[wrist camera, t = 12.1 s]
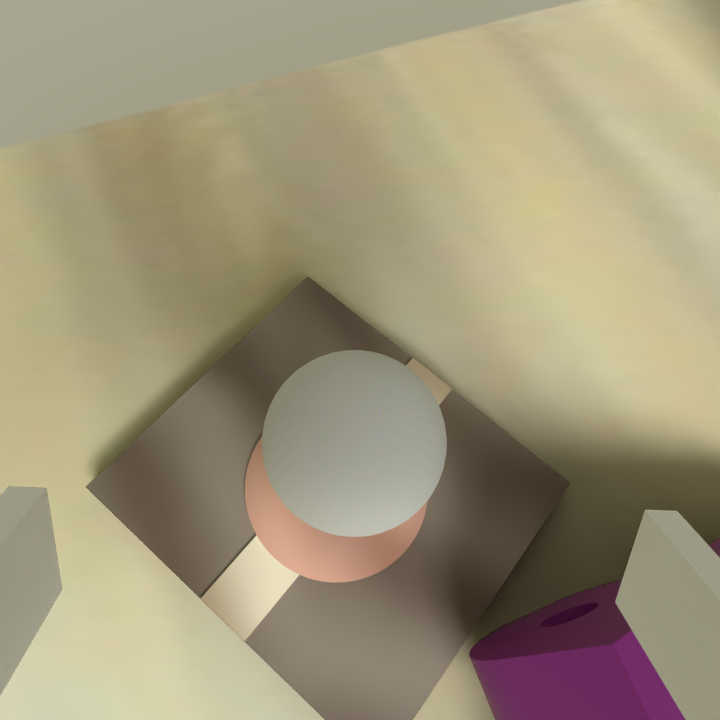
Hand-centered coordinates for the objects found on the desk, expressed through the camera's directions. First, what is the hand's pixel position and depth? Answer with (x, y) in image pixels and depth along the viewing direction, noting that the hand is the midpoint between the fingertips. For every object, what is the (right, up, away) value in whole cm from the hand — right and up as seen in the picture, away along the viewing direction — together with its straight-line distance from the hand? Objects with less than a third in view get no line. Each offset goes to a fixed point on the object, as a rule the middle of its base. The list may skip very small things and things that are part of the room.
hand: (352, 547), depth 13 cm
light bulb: (-1, -1, +12) cm, 12 cm away
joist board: (-1, -2, +13) cm, 13 cm away
